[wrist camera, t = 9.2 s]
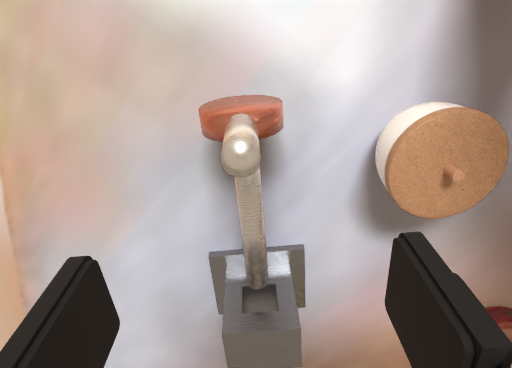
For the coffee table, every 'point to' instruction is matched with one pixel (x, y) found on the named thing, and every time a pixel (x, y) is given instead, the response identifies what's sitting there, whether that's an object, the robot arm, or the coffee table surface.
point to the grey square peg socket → (261, 308)
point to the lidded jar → (440, 158)
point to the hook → (245, 165)
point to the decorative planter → (502, 319)
